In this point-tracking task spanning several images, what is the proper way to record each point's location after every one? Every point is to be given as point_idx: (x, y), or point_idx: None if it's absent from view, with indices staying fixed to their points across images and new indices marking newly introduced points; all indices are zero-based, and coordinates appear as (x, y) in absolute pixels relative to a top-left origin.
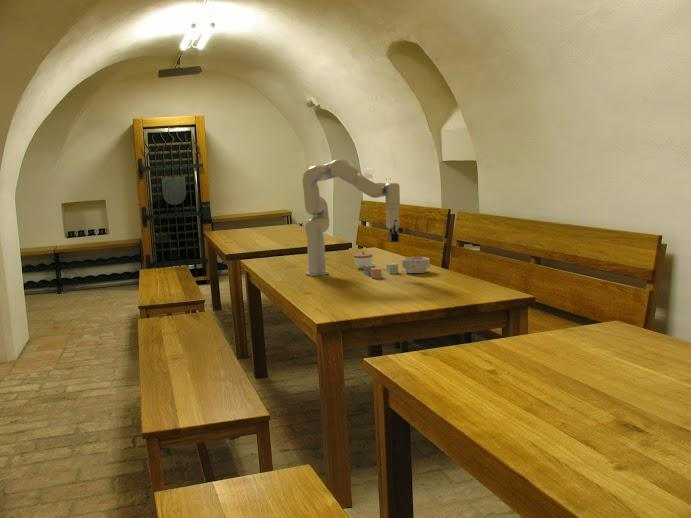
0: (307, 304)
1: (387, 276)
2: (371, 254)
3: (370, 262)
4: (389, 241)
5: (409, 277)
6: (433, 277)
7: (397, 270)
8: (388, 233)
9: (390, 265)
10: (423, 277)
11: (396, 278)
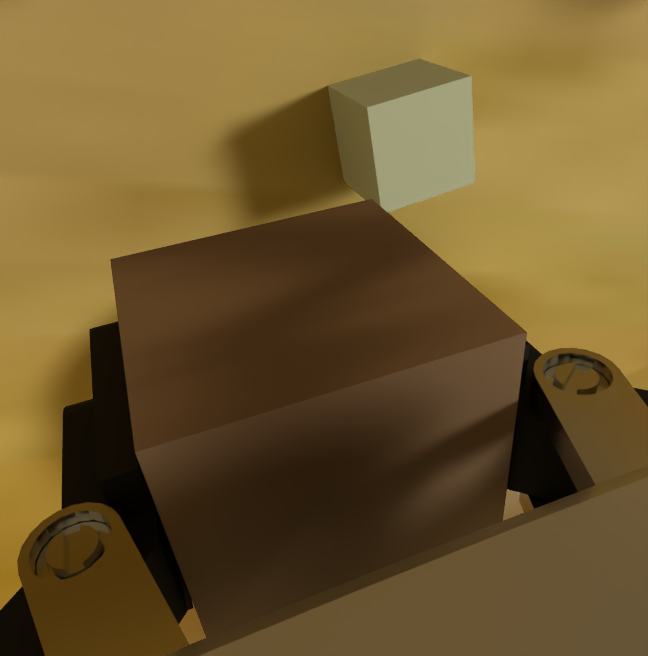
0: None
1: (161, 33)
2: None
3: None
4: (207, 243)
5: (63, 278)
6: (46, 470)
7: (352, 181)
8: (388, 338)
9: (366, 117)
10: (52, 398)
11: (2, 133)
